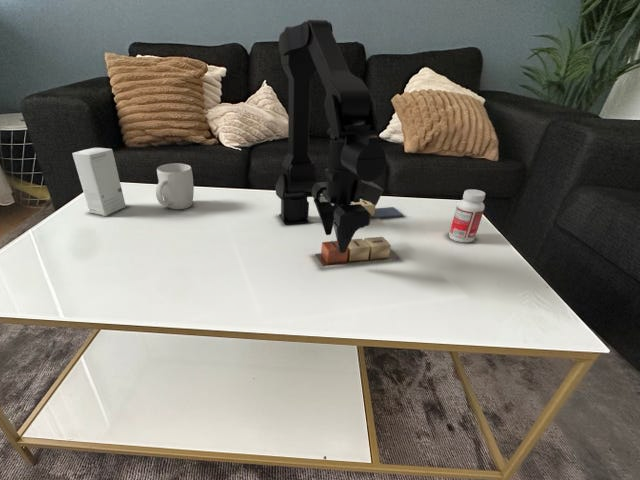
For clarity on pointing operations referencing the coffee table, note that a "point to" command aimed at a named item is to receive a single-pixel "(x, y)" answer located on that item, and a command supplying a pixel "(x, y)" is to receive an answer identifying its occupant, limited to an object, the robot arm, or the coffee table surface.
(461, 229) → the pill bottle
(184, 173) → the mug
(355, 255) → the near word
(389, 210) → the far word
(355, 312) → the coffee table surface
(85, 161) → the cosmetic box
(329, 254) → the red wooden cube
